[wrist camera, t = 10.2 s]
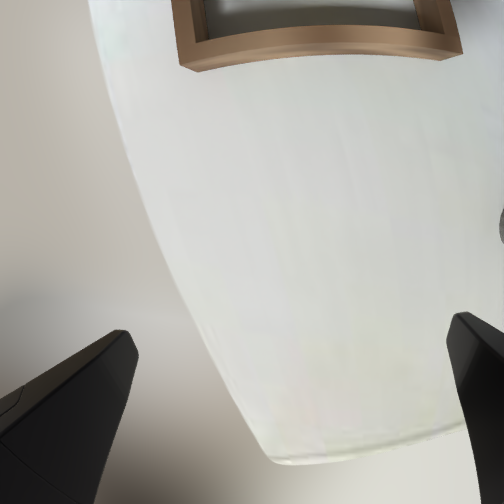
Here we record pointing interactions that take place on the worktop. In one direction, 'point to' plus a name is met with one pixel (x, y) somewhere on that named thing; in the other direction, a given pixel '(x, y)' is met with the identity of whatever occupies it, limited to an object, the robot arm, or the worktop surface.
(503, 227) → the beverage cup
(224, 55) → the box
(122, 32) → the worktop surface
